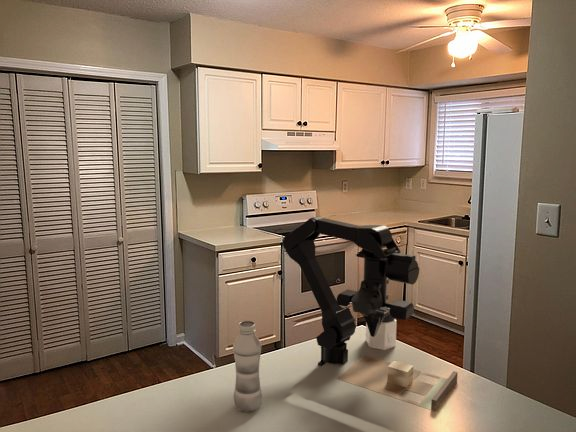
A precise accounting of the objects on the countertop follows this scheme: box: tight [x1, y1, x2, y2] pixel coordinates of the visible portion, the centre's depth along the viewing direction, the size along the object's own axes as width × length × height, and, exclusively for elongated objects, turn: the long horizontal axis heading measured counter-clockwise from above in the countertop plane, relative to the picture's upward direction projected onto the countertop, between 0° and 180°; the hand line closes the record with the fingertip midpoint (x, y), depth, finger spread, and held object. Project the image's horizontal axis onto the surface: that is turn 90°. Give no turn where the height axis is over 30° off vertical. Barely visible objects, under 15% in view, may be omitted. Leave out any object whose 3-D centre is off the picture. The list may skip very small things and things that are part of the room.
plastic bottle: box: [232, 320, 263, 413], centre depth 106 cm, size 6×7×20 cm
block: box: [387, 360, 414, 388], centre depth 116 cm, size 5×4×4 cm
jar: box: [365, 313, 397, 351], centre depth 138 cm, size 9×8×12 cm
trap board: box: [336, 355, 459, 412], centre depth 117 cm, size 25×16×4 cm, turn 54°
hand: (373, 336), depth 119 cm, fingers closed
